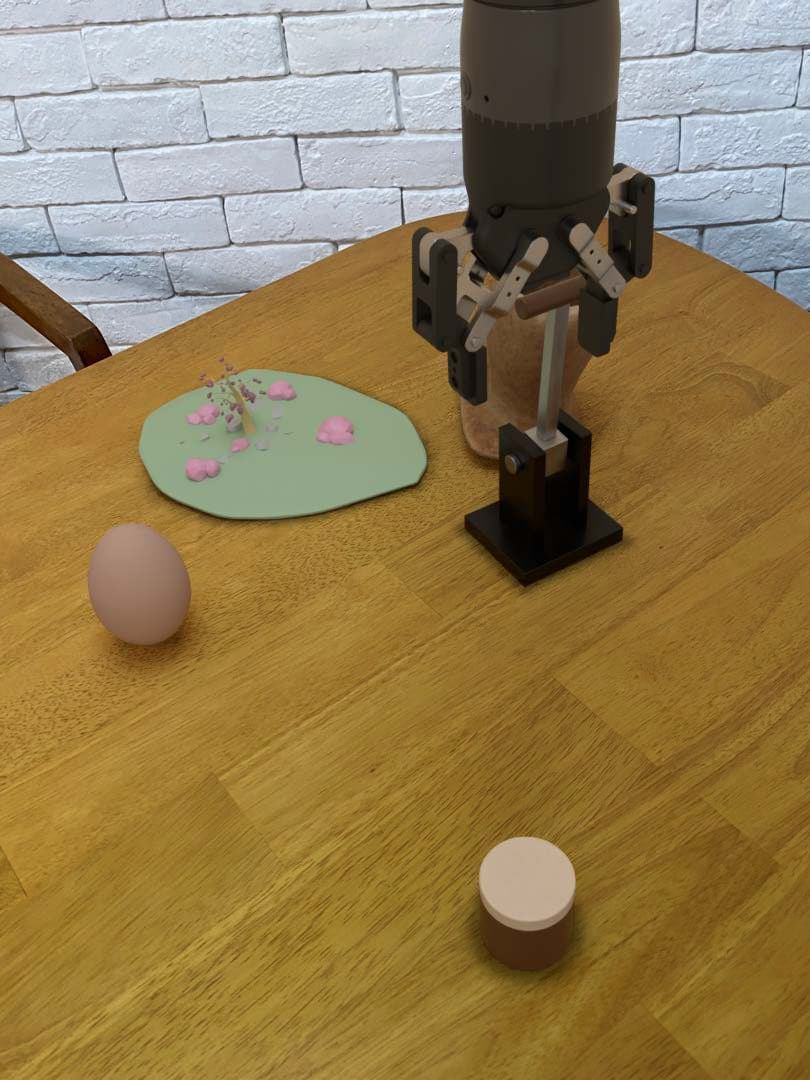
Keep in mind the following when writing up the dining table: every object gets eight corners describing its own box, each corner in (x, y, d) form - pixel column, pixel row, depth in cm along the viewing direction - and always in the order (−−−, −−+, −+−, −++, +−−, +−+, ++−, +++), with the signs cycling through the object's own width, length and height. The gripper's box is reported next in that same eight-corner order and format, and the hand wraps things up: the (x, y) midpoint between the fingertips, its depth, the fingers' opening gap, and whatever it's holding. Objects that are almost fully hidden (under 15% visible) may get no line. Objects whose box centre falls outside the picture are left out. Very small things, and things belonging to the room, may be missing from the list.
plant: (442, 379, 103) (438, 290, 97) (417, 526, 88) (411, 432, 82) (177, 375, 106) (158, 289, 100) (109, 517, 91) (81, 425, 85)
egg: (111, 605, 83) (78, 503, 77) (203, 595, 83) (178, 493, 77) (100, 674, 78) (64, 571, 72) (199, 663, 78) (171, 559, 72)
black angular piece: (622, 540, 85) (631, 435, 79) (524, 587, 82) (526, 481, 75) (558, 486, 90) (562, 383, 84) (464, 528, 87) (460, 424, 81)
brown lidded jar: (591, 940, 61) (595, 890, 58) (514, 988, 59) (515, 938, 56) (536, 872, 64) (538, 820, 61) (463, 915, 63) (460, 864, 59)
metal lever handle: (610, 280, 71) (587, 262, 73) (532, 309, 69) (510, 290, 71) (586, 459, 82) (566, 441, 84) (518, 489, 80) (499, 470, 82)
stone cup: (607, 470, 92) (619, 306, 82) (460, 474, 92) (455, 312, 82) (589, 368, 103) (598, 213, 93) (459, 372, 104) (454, 219, 94)
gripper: (456, 149, 49) (465, 449, 60) (706, 73, 54) (673, 362, 65) (371, 100, 54) (394, 385, 65) (607, 35, 59) (592, 309, 70)
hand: (534, 373), depth 65 cm, fingers open, 8 cm apart
